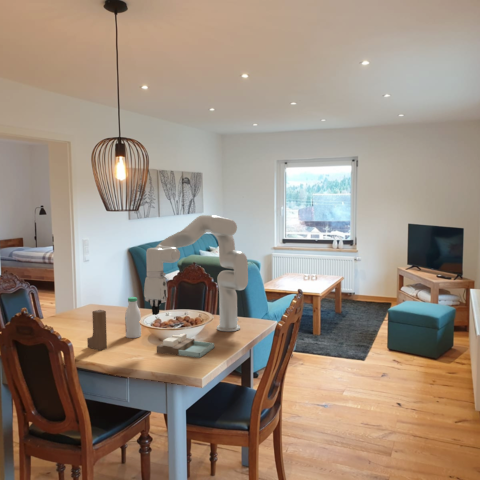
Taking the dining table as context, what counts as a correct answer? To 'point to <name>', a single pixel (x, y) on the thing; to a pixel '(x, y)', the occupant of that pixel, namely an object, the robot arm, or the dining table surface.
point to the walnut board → (175, 347)
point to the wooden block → (98, 331)
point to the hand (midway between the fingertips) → (155, 314)
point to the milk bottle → (132, 319)
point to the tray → (197, 349)
